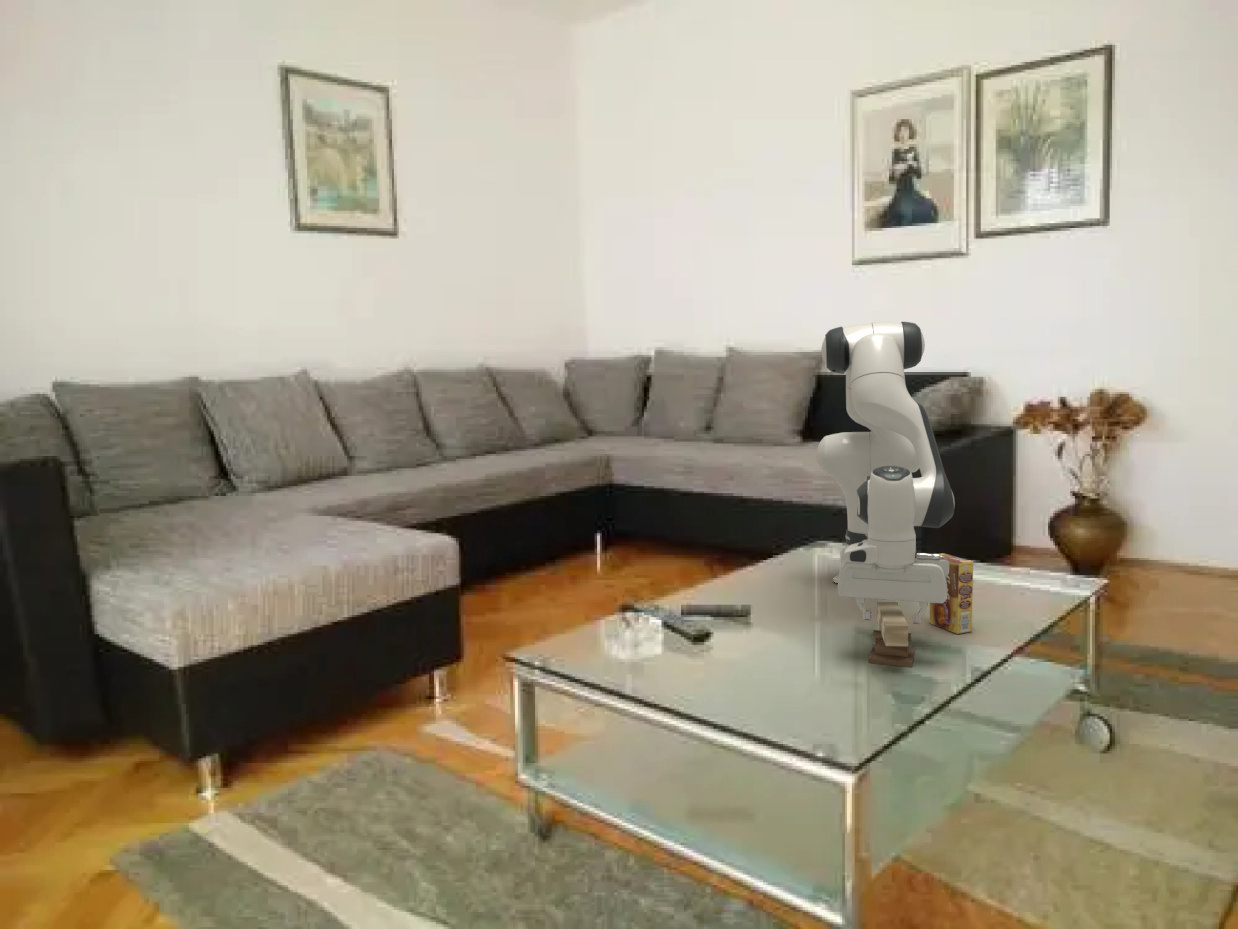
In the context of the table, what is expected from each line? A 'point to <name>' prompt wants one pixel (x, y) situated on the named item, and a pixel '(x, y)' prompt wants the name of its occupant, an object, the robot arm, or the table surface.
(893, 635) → the wooden zigzag block
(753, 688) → the table surface
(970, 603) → the candy box
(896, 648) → the ridge stand
